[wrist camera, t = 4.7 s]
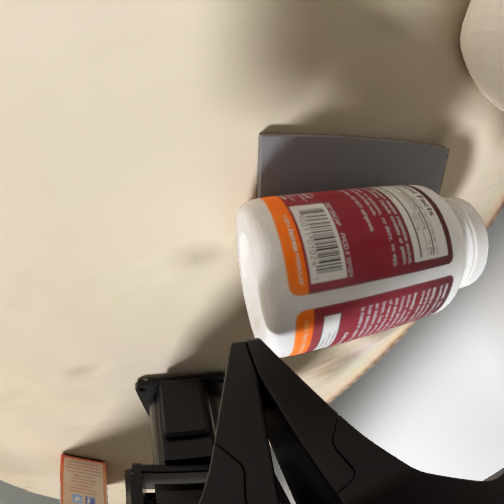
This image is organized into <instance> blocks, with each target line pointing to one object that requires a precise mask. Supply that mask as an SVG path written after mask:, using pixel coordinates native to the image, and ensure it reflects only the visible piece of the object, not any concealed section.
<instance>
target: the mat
mask: <svg viewBox="0 0 504 504" xmlns="http://www.w3.org/2000/svg"><path fill="white" fill-rule="evenodd" d="M448 152H449V149H448V148H445V147H443V146H439V145H432V144H425V143H418V142H410V141H402V140H392V139H382V138H371V137H358V136H343V135H322V134H259V148H258V178H257V199H258V198H263V197H270V196H281V195H289V194H300V193H309V192H320V191H332V190H343V189H354V188H368V187H381V186H396V185H418V186H423V187H426V188H428V189H430V190H432V191H434V192H435V193H437V194H438V195H439V192H440V188H441V184H442V180H443V175H444V171H445V167H446V162H447V157H448Z"/></svg>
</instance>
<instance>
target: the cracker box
mask: <svg viewBox="0 0 504 504" xmlns="http://www.w3.org/2000/svg"><path fill="white" fill-rule="evenodd" d="M60 504H108V495H107V476H106V463H105V462H99V461H93V460H89V459H83V458H78V457H74V456H69V455H64V454H61V465H60Z"/></svg>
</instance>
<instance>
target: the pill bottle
mask: <svg viewBox="0 0 504 504" xmlns="http://www.w3.org/2000/svg"><path fill="white" fill-rule="evenodd" d="M237 249H238V260H239V269H240V276H241V283H242V289H243V295H244V299H245V304H246V308H247V312H248V316H249V320H250V324H251V327H252V331H253V334H254V337H255V338H260V339H261V340H262V341H263V342H264V343H265V344H266V345H267V346H268V347H269V348H270V349H271V350H272V351H273V352H274V353H275V354H276V355H277V356H278V357H279V358H282V357H287V356H293V355H298V354H302V353H306V352H309V351H313V350H317V349H321V348H324V347H329V346H333V345H336V344H340V343H344V342H347V341H351V340H355V339H358V338H362V337H365V336H369V335H371V334H375V333H378V332H381V331H384V330H388V329H391V328H394V327H397V326H400V325H403V324H406V323H409V322H412V321H415V320H418V319H421V318H424V317H427V316H429V315H432V314H434V313H436V312H438V311H440V310H442V309H443V308H444V307H446V306H447V305H448V304H449V303H450V302H451V300H452V299H453V298H454V296H455V295H456V293H457V291H458V289H459V288H463V287H465V286H468V285H470V284H472V283H473V282H474V281H476V280H477V279H478V278H479V276H480V275H481V273H482V272H483V270H484V268H485V265H486V262H487V257H488V236H487V231H486V228H485V225H484V222H483V220H482V218H481V216H480V215H479V213H478V212H477V211H476V209H475V208H474V207H473V206H472V205H471V204H470V203H468V202H467V201H465V200H463V199H460V198H455V197H450V198H442V197H441V196H439V195H438V194H437V193H435V192H434V191H432V190H430V189H428V188H426V187H423V186H418V185H396V186H381V187H368V188H354V189H343V190H332V191H320V192H309V193H300V194H289V195H281V196H270V197H263V198H258V199H253V200H249V201H247V202H245V203H244V204H243V205H242V206H241V207H240V209H239V211H238V213H237Z"/></svg>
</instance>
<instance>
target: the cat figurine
mask: <svg viewBox="0 0 504 504" xmlns="http://www.w3.org/2000/svg"><path fill="white" fill-rule="evenodd" d="M460 47H461V52H462V55H463V58H464V61H465V64H466V66H467V69H468V71H469V73H470V75H471V77H472V78H473V80H474V82H475V84H476V85H477V87H478V89H479V90H480V92H481V93H482V95H483V96H484V97H485V98H487V99H488V100H489V101H490V102H491V103H492V104H493V105H494V106H496V107H497V108H498V109H500V110H502V111H503V112H504V0H471V2H470V4H469V7H468V9H467V12H466V15H465V18H464V21H463V24H462V29H461V35H460Z"/></svg>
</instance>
